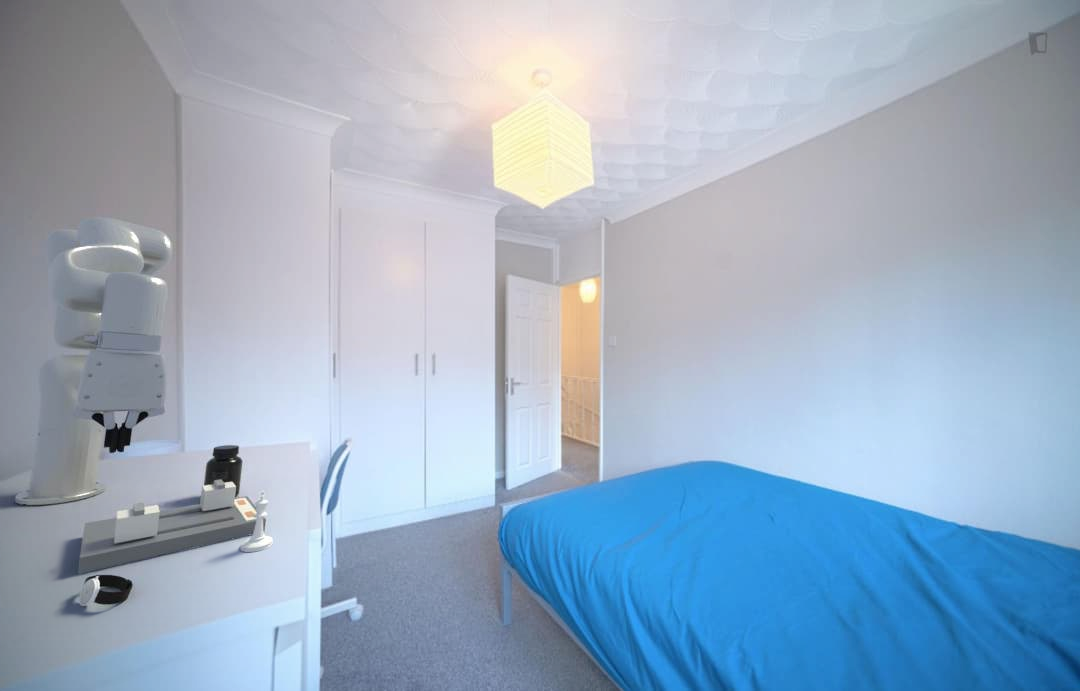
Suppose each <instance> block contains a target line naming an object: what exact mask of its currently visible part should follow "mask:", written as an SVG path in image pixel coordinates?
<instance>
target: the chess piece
mask: <svg viewBox="0 0 1080 691" xmlns="http://www.w3.org/2000/svg"><path fill="white" fill-rule="evenodd" d="M265 495H266V492H265V490H261V493H260V497H259V499H260V500H256V501H255V503H254V505H255V506H256V509H257V513H256V514H254V516H253V517H254V518H257V520H256V525H255V528H254V532H253V535H250V536H249V538H247V539H245V540H244V541H242V542H241V545H240V547H239V550H240V551H242V552H244V553H254V552H261V551H264V550H267V549H268V548H270V547H271V546H273V543H274V540H273V537H272V536H269V535H266V534H265V532H263V517H265V518H266V517H267V515H268V512H266V511H265V510H266V508H267V506H268V503H269V501H268V500H267V499H265Z"/></svg>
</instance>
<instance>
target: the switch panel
mask: <svg viewBox="0 0 1080 691" xmlns="http://www.w3.org/2000/svg"><path fill="white" fill-rule="evenodd" d="M159 511H160V513H159V521H158V529H157V535H155V536H150V537H145V538H140V539H135V540H130V541H125V542H120V543H115V544H114V531H115V523H116V517H113V518H107V519H106V518H105V519H102V520H101V519H100V520H95V521H88V522H85V523H84V525H83V534H82V541H81V547H80V554H79V562H78V571H77V575H80V574H85V573H90V572H93V571H99V570H103V569H108V568H112V567H117V566H120V565H124V564H130V563H133V562H138V561H141V560H142V561H143V560H147V558H148V559H152V558H155V556H156V557H159V556H158V555H161V556H164V555H163V554H165V555H170V554H173V553H172V552H174V553H177V552H176V551H178V552H181V551H180V550H183V551H186V550H185V549H187V550H190V549H189V548H191V549H194V548H193V547H196V548H198V547H197V546H200V547H203V546H202V545H204V546H208V545H207V544H209V545H212V544H217V543H221V541H222V542H226V541H230V540H229V539H231V540H233V539H232V538H235V539H238V538H237V537H240V538H243V537H242V536H244V537H247V536H246V535H248V536H250V535H249V534H253V532H254V528H255V525H256V520H257V518H254V517H253V516H254V514H256V513H257V509H256V506H255V503H254V502H252V500H251V499H250V498H249V496H247V495H246V496H239V497H235V501H234V506H230V507H224V508H218V509H213V510H207V511H202V509H201V507H200V503H198V504H191V505H186V506H179V507H175V508H173V507H172V508H169V509H168V508H167V509H162V510H159ZM266 522H267V521H266V516H265V517H263V531H264V532H265V528H266ZM225 540H226V541H225ZM151 557H152V558H151Z"/></svg>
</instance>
